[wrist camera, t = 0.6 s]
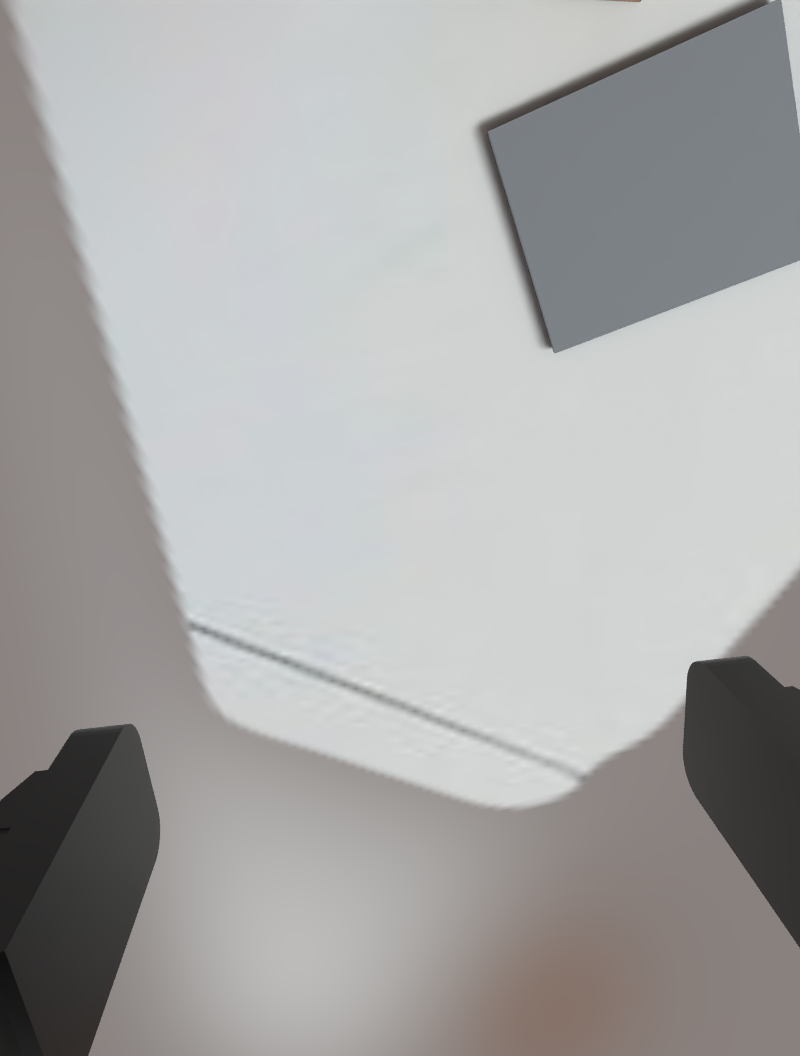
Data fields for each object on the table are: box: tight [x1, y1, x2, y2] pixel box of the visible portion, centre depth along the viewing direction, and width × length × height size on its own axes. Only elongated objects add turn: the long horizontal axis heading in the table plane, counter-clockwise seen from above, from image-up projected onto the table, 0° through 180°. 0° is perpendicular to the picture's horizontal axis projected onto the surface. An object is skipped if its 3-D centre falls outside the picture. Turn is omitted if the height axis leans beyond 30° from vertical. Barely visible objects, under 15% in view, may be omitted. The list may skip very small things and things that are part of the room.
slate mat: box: [487, 0, 800, 353], centre depth 30 cm, size 10×12×1 cm
